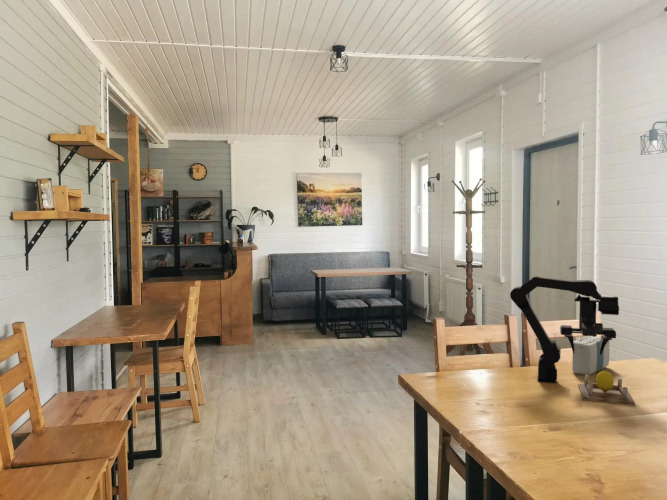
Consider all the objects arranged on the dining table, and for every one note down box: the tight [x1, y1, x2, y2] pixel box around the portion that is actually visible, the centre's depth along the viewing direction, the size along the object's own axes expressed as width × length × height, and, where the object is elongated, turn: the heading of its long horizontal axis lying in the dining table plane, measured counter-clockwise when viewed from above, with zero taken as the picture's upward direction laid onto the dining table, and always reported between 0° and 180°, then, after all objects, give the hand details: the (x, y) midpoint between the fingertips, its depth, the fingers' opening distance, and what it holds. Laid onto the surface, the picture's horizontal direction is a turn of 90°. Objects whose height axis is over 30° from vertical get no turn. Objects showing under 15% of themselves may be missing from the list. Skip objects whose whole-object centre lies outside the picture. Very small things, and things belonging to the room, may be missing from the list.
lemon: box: [595, 369, 615, 392], centre depth 183 cm, size 6×6×8 cm
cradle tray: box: [577, 375, 636, 406], centre depth 183 cm, size 16×16×5 cm
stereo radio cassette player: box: [571, 335, 610, 376], centre depth 214 cm, size 21×8×20 cm, turn 132°
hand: (586, 353), depth 194 cm, fingers open, 9 cm apart
